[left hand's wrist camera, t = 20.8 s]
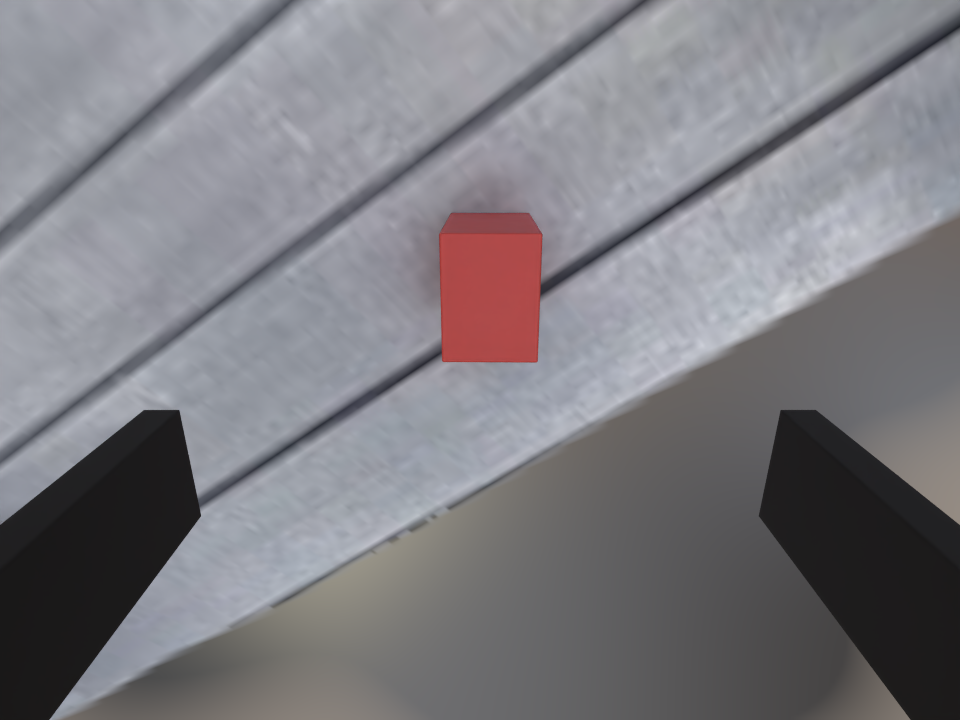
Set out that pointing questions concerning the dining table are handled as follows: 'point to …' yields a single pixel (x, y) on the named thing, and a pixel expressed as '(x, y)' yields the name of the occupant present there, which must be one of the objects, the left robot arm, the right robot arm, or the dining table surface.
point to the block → (490, 287)
